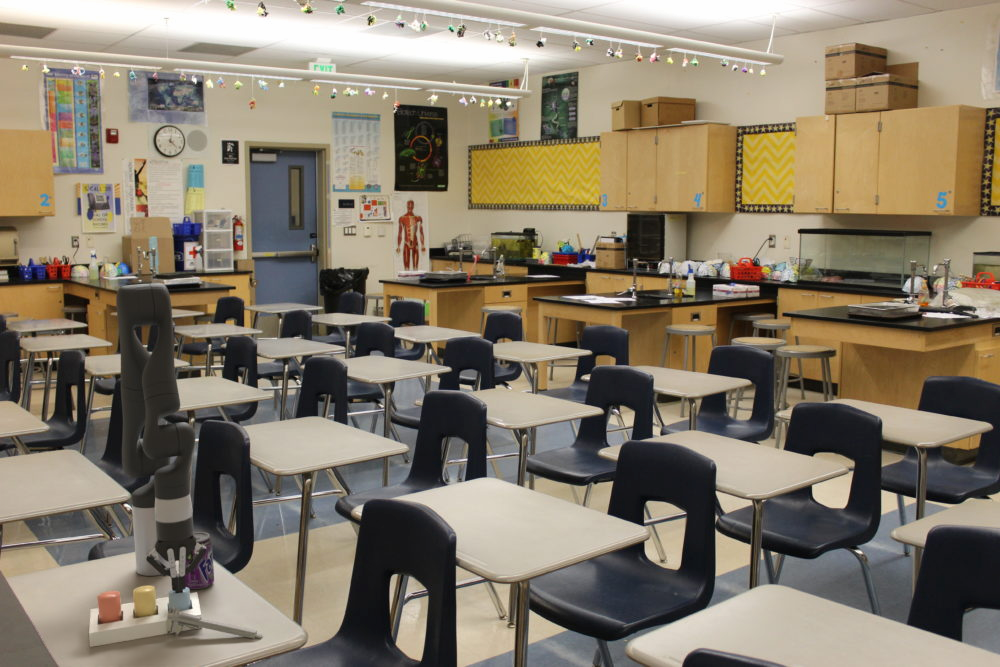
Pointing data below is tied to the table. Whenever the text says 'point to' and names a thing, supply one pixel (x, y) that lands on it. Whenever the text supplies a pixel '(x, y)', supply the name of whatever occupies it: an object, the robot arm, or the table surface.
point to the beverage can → (201, 565)
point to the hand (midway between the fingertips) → (178, 591)
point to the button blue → (179, 599)
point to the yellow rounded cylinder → (144, 601)
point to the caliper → (205, 624)
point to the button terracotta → (109, 607)
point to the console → (136, 623)
